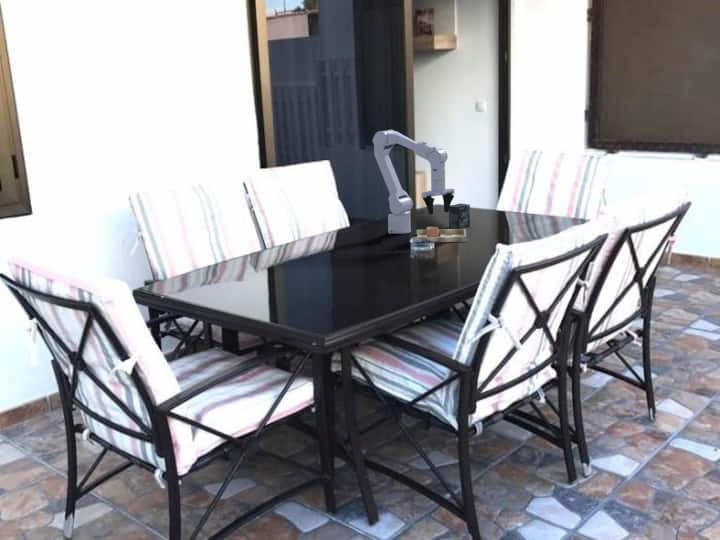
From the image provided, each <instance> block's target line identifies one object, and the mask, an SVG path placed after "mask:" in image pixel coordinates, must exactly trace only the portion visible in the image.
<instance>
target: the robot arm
mask: <svg viewBox="0 0 720 540" xmlns="http://www.w3.org/2000/svg"><path fill="white" fill-rule="evenodd" d="M372 143H373V145H374V146H373V149H374V151H373V152H374V153H373V154H374V158H375V160H376V162H377V164H378V167H379V171H380V172H381V175H382V177H383V180H384V182H385V185H386V187H387V190H388V193H389V196H388V199H387V200H388V203H389V210H390V212H391V213H389V214H388V216H387V226H388V227H387V231H388V234H409V233H411V232H412V230H411V229H412V228H411V211H412V209H413V205H414V203H413V200H412V198H411V196H409V194H408V192H407V191H405V190H404V189H403V187H402V185H401V183H400V180H399V178H398V176H397V172H396V170H395V167H394V166H393V163H392V161H391V158H390V155H389V154H390V152H391V150H392V149H393V147H394V146H395V145H396V144H398V145H400V146H402V147H405V148H407V149H408V150H409V149H410V150H412V151H413V153H414V154H415V155H416V156H417V157H420V158H421V159H425V160H426V161H428V163H429V165H430V188H431V189H430V190H428V191H422V192H421V197H422V200H423V201H424V204H425V206H426V209H427V212H428V215H434V203H435V198H434V197H436V196H442V200H443V201H442V202H443V212H444V213H449V207H450V205H452V204H451V203H452V201H453V199H454V198H455V195H454V194H455V189H454V188H446V162H447V160H448V153H447V152H446V150H444V149H443V148H437V146H436V145H435V146H432V145H430V144H428V143H427V141H425V140H424V141H418V142H417V141H415V140H413V139H411V138H410V137H408V136H406V135H404V134H402V133H400V132H399V131H397V130H396V131H395V130H394V129H388V130H380V131H377V132H376V133H375V134H374V136H373V138H372Z"/></svg>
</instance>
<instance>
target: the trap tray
mask: <svg viewBox="0 0 720 540" xmlns="http://www.w3.org/2000/svg"><path fill="white" fill-rule="evenodd" d="M416 235H417V236H415V237H413V241H414V240H418V239H419V240H430V241H433V242H432V243H452V242H453V243H457V242H459V243H460V242H461V243H463V242H467V228H460V229H458V228H450V229H449V228H447V229H445V228H443V229H439V228H438V235H439V237H427V229H416Z"/></svg>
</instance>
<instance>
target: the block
mask: <svg viewBox="0 0 720 540" xmlns="http://www.w3.org/2000/svg"><path fill="white" fill-rule="evenodd" d="M438 229H439V226H427V227H426V230H427V237H439V236H440V235H438Z"/></svg>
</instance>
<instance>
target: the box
mask: <svg viewBox="0 0 720 540" xmlns="http://www.w3.org/2000/svg"><path fill="white" fill-rule="evenodd" d="M470 227H471V204H468V203H456V204H450V207H449V212H448V229H449V228H450V229H466V228H470Z"/></svg>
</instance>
